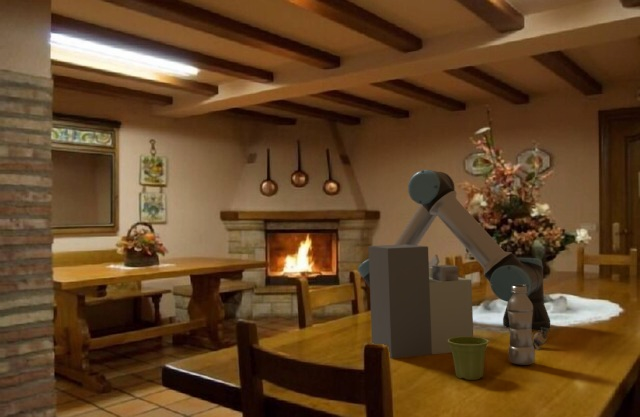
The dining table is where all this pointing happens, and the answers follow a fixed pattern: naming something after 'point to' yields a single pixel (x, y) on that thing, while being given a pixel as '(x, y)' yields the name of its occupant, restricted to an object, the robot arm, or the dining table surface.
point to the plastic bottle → (520, 327)
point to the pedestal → (415, 303)
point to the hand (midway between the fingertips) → (418, 259)
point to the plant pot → (468, 356)
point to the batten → (443, 272)
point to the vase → (540, 338)
